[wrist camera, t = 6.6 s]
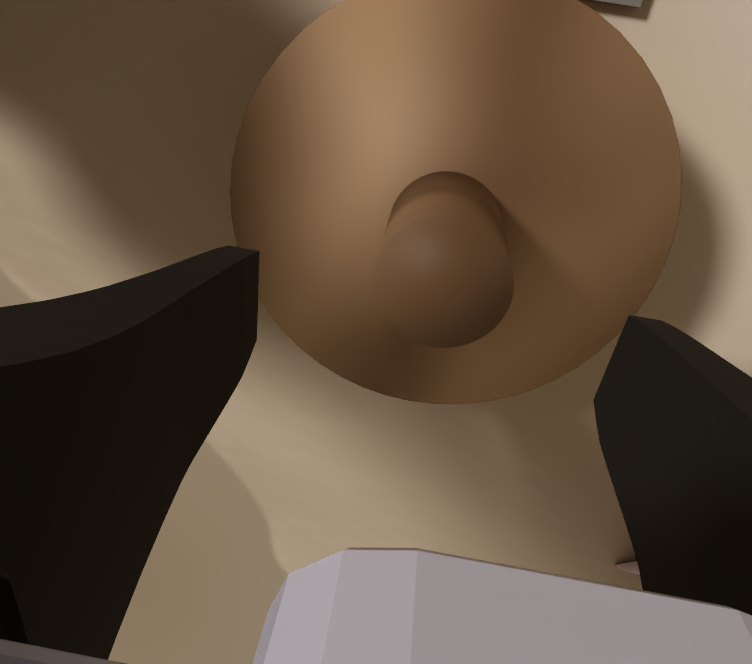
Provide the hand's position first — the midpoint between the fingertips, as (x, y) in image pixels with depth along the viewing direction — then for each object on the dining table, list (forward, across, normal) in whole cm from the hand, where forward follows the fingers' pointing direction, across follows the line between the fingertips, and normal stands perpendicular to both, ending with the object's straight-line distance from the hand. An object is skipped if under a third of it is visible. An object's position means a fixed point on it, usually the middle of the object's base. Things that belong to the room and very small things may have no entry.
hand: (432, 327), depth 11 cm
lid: (+5, 0, -1) cm, 5 cm away
